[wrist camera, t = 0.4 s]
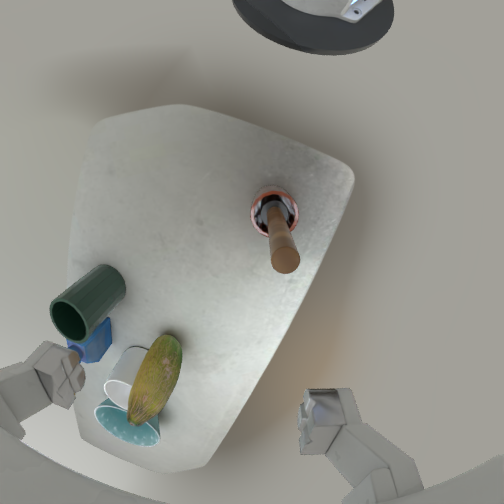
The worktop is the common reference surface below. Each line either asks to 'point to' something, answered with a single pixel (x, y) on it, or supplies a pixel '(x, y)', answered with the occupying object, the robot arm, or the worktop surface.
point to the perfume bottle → (94, 344)
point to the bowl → (127, 425)
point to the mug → (124, 376)
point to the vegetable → (154, 380)
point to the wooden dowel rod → (279, 234)
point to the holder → (256, 208)
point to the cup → (87, 303)
